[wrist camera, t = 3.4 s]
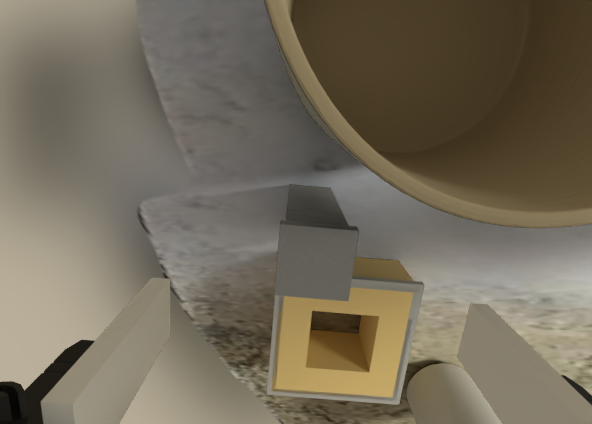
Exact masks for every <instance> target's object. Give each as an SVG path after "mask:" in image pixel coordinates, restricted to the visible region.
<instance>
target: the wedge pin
mask: <svg viewBox="0 0 592 424" xmlns="http://www.w3.org/2000/svg"><path fill="white" fill-rule="evenodd" d="M358 234H359V230H358V228H357V227H353V226H348V224H347V222H346V219H345V217H344V215H343V213H342V211H341V209H340V207H339V205H338V203H337V201H336V199H335V197H334V194H333V192H332V190H331V188H325V187H314V186H303V185H292V184H290V187H289V196H288V205H287V214H286V221H285V220H281V222H280V232H279V244H278V256H277V268H276V280H275V292H274V295H277V296H289V297H301V298H313V299H325V300H337V301H349V295H350V288H351V281H352V275H353V268H354V261H355V254H356V248H357V241H358Z"/></svg>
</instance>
